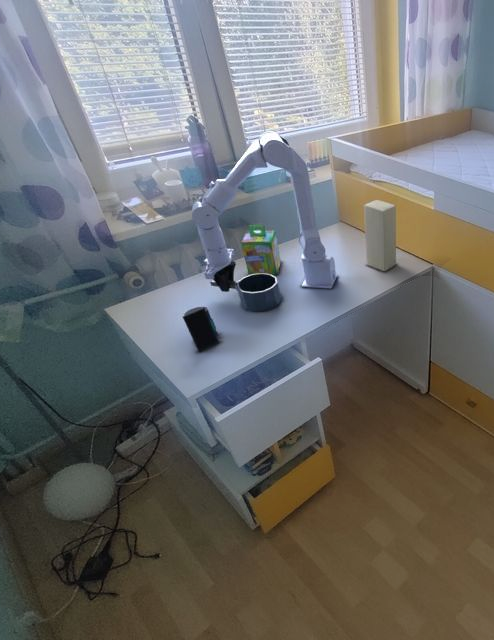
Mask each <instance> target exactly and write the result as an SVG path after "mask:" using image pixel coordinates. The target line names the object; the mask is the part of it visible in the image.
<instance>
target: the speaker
mask: <svg viewBox="0 0 494 640" xmlns="http://www.w3.org/2000/svg"><path fill="white" fill-rule="evenodd" d="M182 319H183V321H184V323H185V326H186V328H187V330H188V332H189V335H190V337H191V338H192V341H193V343H194V345H195V347H196V349H197V351H198V352H199V353H200V352H203V351H205V350H207V349H209V348H212V347H213V346H215V345H217V344H219V343H220V341H219V339H218V338H219V333H218V331H217V327H216V324H215V321H214V319H213V318H212V317H211V314H210V312H209V309H208V307H207V306H196V307H193V308H190V309H188V310H187V311H186V312H184V313H183V316H182Z"/></svg>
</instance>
